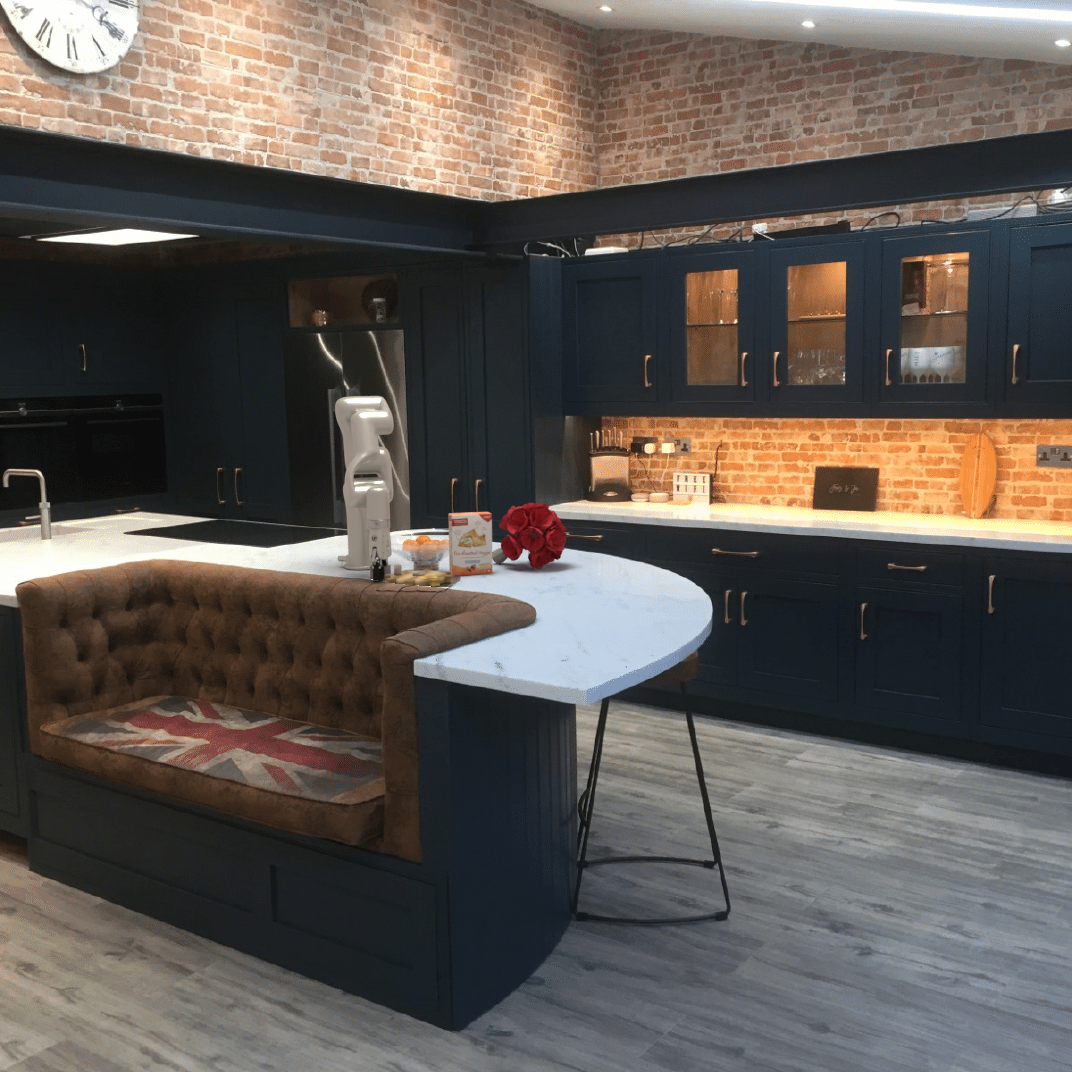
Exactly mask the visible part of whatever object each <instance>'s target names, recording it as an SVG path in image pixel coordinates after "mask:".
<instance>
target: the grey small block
mask: <svg viewBox="0 0 1072 1072" xmlns="http://www.w3.org/2000/svg"><path fill="white" fill-rule="evenodd" d="M391 567H392V566H391V564H388V565H384V564H382V566H381V568H383V580H382V581H381V582H385V575H386V574H392V572H391V569H392V568H391ZM369 575H370V576H369V578H370V579H373V568H372V566H370V569H369ZM370 579H369V580H370Z"/></svg>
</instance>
